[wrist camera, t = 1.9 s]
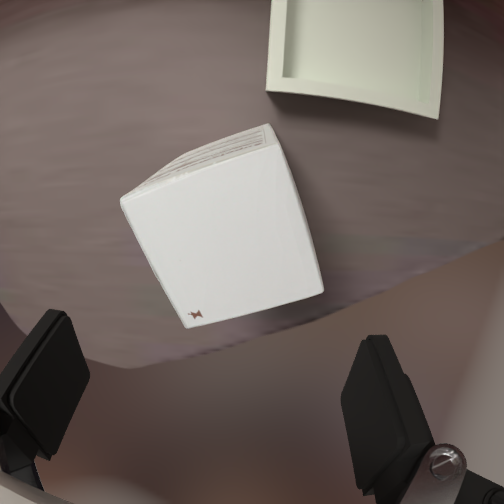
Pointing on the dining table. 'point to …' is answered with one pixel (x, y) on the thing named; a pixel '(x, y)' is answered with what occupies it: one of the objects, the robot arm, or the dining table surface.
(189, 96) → the dining table surface
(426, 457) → the robot arm
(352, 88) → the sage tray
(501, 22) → the dining table surface
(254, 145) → the supplement box
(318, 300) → the dining table surface
